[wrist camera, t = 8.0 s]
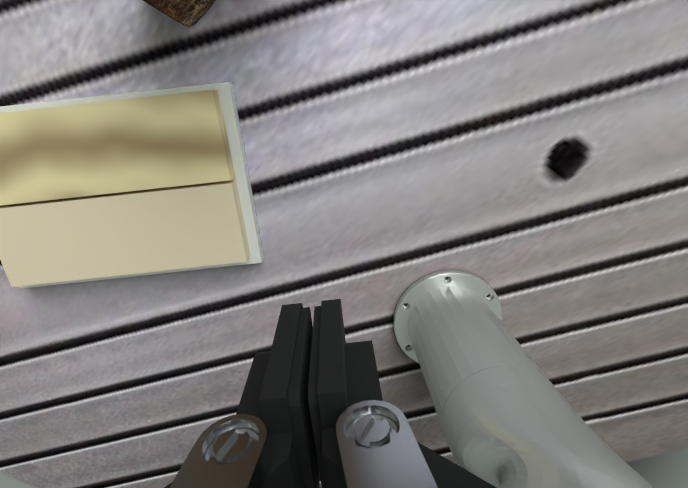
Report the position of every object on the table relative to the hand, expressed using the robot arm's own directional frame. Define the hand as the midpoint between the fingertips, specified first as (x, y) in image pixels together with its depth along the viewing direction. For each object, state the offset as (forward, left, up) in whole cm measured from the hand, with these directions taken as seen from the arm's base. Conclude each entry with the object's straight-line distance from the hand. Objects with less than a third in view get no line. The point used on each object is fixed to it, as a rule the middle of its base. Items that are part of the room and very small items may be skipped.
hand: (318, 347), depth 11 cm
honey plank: (+5, +21, -29) cm, 37 cm away
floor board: (+1, +21, -31) cm, 38 cm away
